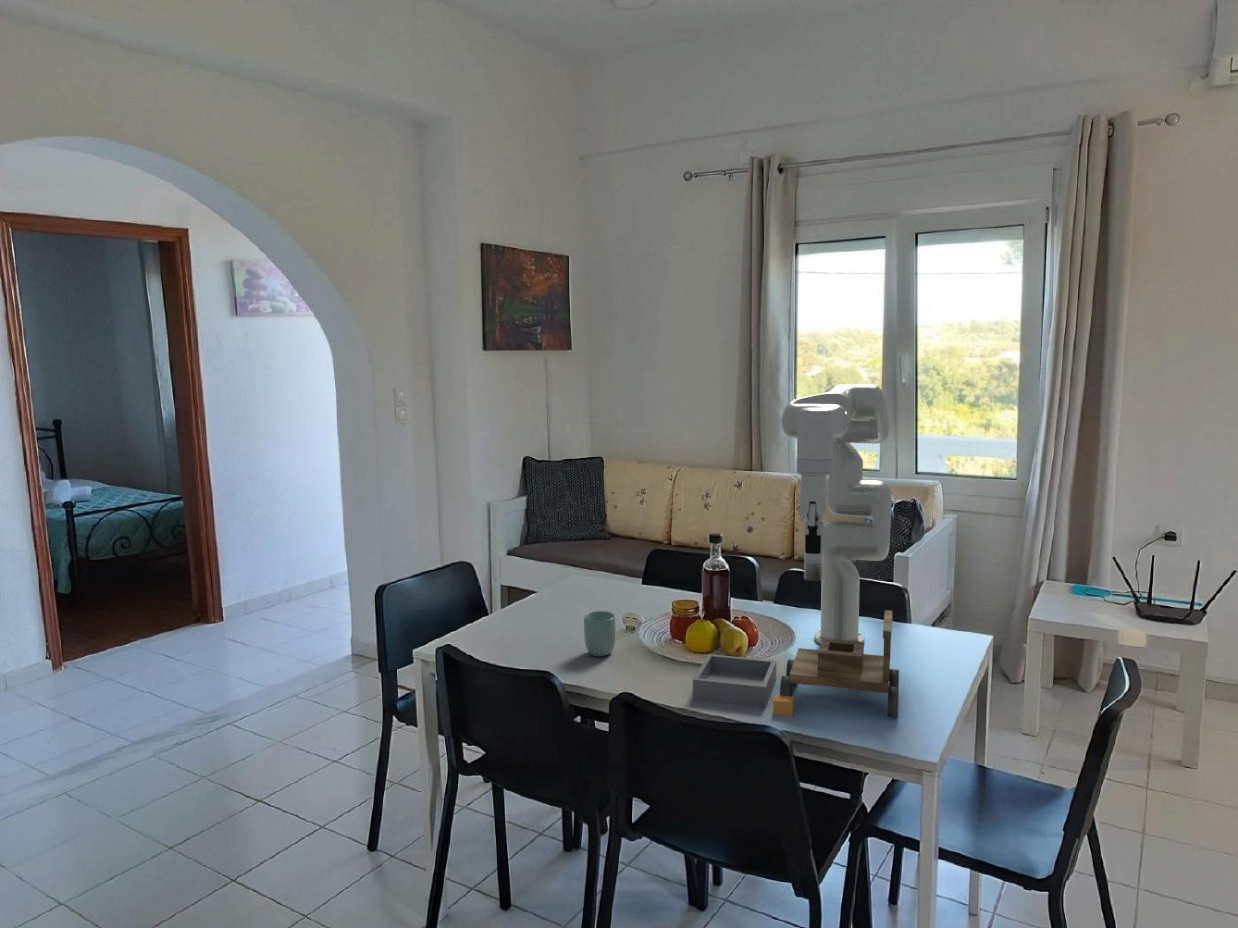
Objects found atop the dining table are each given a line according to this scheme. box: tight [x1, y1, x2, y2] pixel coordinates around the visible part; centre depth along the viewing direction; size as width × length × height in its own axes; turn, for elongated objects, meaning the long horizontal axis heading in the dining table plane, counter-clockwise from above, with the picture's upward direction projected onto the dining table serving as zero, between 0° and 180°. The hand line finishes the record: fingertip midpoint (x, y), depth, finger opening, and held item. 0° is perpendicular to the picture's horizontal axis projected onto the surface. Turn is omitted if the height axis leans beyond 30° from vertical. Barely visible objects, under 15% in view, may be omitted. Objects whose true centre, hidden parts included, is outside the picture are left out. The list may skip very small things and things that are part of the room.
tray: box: [692, 653, 777, 708], centre depth 198 cm, size 16×16×4 cm
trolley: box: [779, 610, 900, 718], centre depth 190 cm, size 16×24×19 cm, turn 72°
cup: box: [583, 610, 617, 657], centre depth 221 cm, size 8×8×10 cm
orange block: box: [772, 694, 795, 717], centre depth 186 cm, size 3×4×3 cm
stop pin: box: [803, 522, 824, 582], centre depth 188 cm, size 4×4×12 cm
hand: (813, 549), depth 188 cm, fingers closed on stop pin, 4 cm apart
